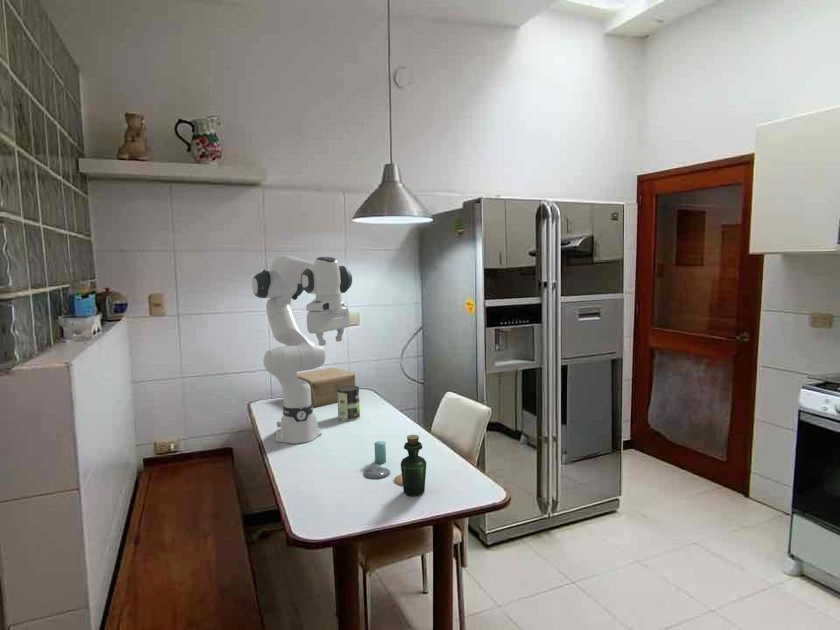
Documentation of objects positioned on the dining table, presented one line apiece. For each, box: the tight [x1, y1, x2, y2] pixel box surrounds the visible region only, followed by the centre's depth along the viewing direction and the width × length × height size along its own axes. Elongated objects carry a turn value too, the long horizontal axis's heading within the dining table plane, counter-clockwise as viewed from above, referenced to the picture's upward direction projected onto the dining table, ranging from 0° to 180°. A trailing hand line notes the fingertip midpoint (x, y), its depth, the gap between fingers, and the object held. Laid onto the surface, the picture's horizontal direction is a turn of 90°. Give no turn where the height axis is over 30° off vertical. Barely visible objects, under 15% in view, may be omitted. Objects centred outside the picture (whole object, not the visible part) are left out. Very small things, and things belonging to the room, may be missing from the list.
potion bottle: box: [400, 434, 427, 497], centre depth 162 cm, size 8×8×18 cm
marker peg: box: [373, 440, 387, 465], centre depth 188 cm, size 4×4×7 cm
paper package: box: [297, 367, 356, 408], centre depth 274 cm, size 27×26×14 cm
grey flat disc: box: [363, 466, 391, 480], centre depth 178 cm, size 9×9×1 cm
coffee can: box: [337, 385, 361, 422], centre depth 240 cm, size 10×10×14 cm
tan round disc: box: [393, 473, 403, 487], centre depth 172 cm, size 9×9×1 cm
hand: (330, 343), depth 181 cm, fingers open, 8 cm apart
